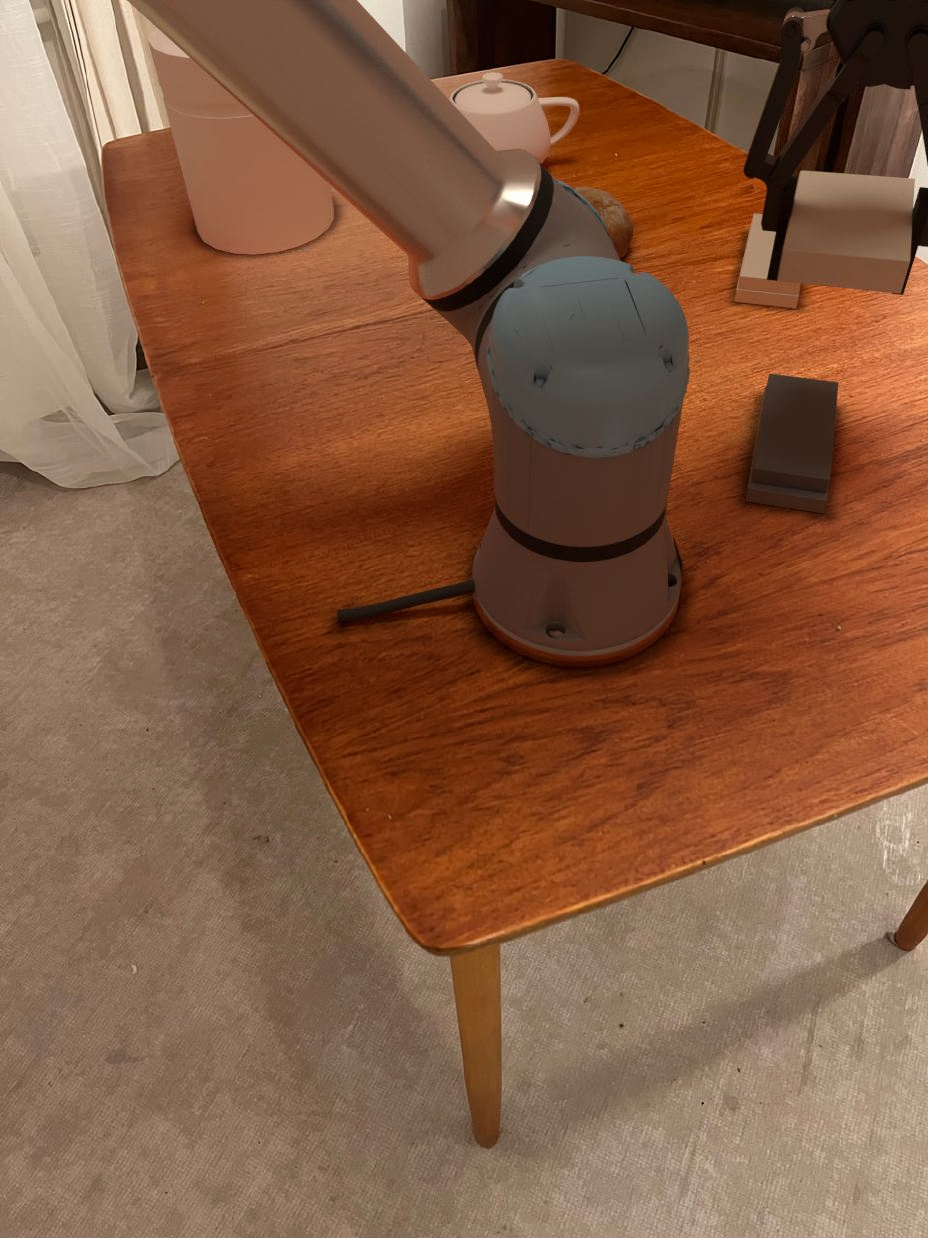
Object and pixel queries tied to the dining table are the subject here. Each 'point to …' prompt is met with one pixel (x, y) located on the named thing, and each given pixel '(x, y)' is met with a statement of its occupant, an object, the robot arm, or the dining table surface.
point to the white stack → (762, 272)
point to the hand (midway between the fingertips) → (835, 277)
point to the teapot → (512, 114)
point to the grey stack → (794, 444)
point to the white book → (849, 232)
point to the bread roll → (611, 217)
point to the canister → (236, 164)
